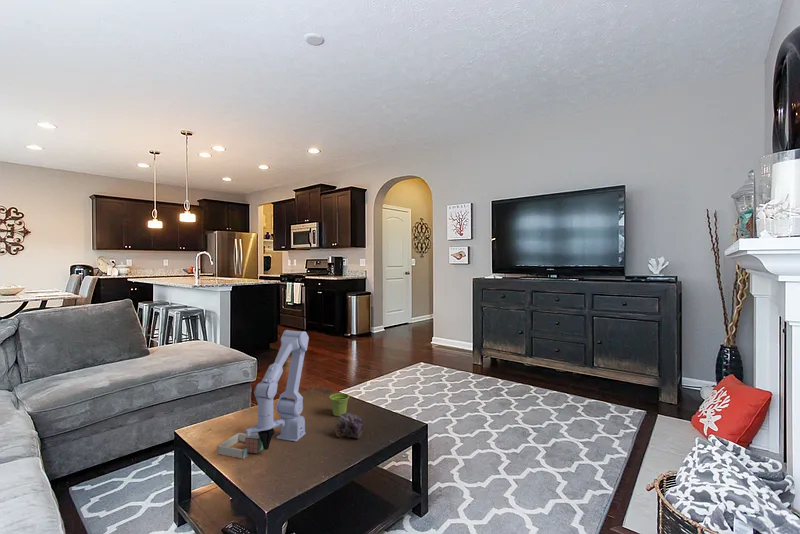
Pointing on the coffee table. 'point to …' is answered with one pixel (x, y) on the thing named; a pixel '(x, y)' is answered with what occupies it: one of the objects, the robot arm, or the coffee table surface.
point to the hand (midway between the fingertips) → (265, 448)
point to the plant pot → (339, 403)
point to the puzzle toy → (253, 443)
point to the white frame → (233, 452)
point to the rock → (349, 426)
